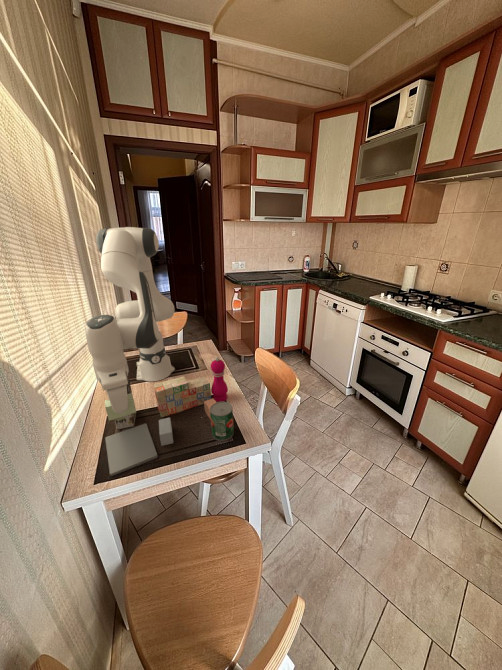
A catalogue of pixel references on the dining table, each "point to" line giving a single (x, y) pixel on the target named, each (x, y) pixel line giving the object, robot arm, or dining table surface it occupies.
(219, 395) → the pepper mill
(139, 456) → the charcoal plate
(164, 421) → the slate brick
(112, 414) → the sage brick
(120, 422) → the coffee box
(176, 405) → the stack of blocks
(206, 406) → the terracotta brick
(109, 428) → the dining table surface
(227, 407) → the canned tomato
